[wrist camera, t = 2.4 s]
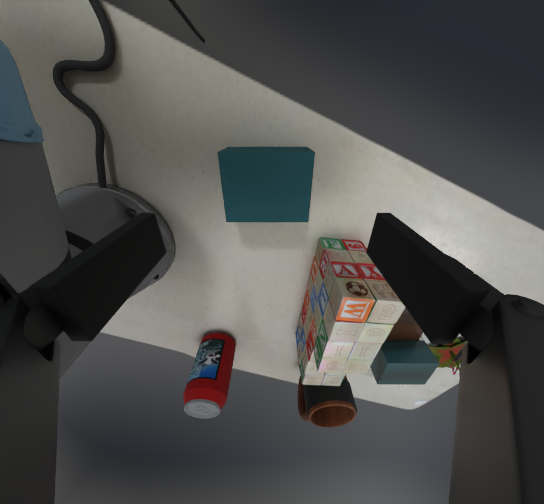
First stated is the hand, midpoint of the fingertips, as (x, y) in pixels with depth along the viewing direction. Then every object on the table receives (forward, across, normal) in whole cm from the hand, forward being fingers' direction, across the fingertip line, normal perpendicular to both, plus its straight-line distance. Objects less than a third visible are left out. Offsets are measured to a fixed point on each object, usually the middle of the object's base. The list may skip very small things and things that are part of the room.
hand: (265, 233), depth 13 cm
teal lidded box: (+15, +25, -29) cm, 41 cm away
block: (+15, 0, 0) cm, 15 cm away
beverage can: (+15, -10, -31) cm, 36 cm away
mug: (+15, +9, -35) cm, 39 cm away
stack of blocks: (+15, +9, -19) cm, 25 cm away
